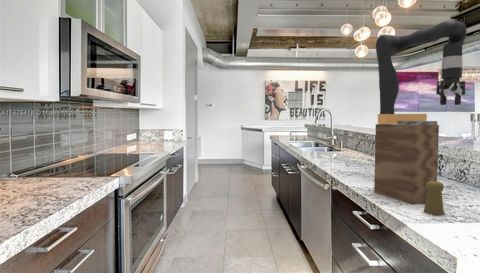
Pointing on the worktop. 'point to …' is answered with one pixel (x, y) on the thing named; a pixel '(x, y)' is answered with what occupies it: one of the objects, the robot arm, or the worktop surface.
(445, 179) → the worktop surface
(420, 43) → the robot arm
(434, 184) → the cork
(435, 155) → the walnut stand
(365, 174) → the worktop surface
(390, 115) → the wooden bar
